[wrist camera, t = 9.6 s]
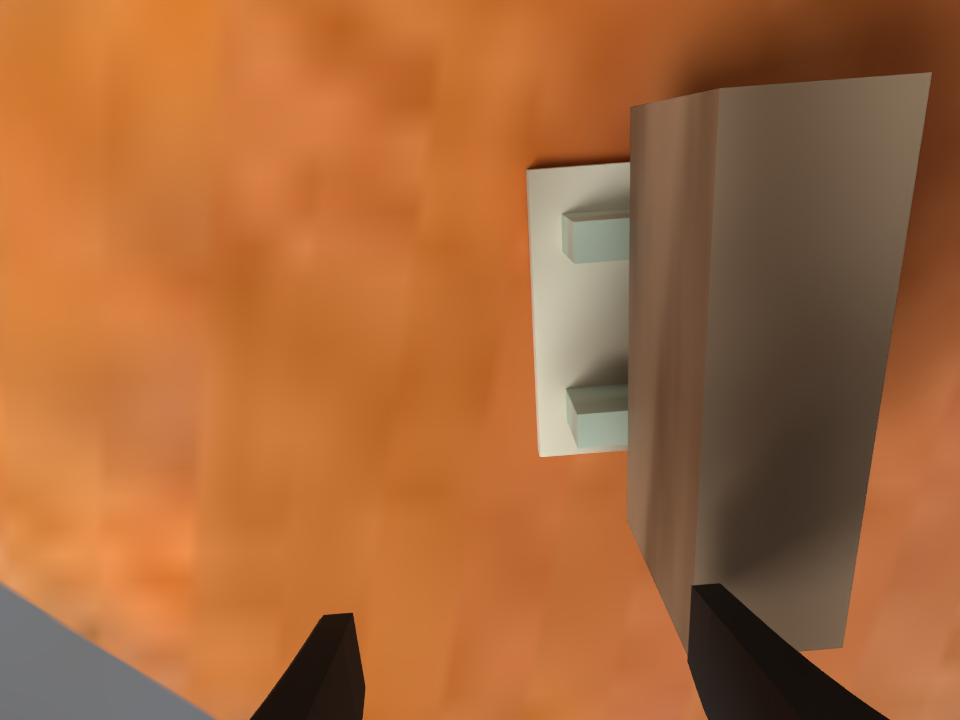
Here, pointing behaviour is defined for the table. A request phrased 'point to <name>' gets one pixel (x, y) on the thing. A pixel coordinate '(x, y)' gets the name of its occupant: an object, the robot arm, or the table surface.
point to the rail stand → (580, 305)
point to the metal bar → (764, 336)
